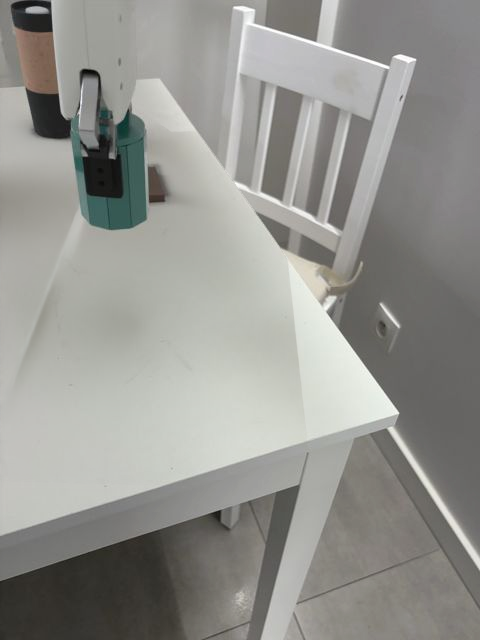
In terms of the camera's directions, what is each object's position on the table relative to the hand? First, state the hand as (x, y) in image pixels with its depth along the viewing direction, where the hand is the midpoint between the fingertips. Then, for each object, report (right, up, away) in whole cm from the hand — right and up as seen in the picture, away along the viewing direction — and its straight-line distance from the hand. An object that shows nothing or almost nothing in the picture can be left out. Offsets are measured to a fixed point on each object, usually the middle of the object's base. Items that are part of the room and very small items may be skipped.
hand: (112, 173), depth 52 cm
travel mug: (-22, +21, +45) cm, 54 cm away
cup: (0, -3, +3) cm, 4 cm away
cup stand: (-6, +9, +35) cm, 36 cm away
